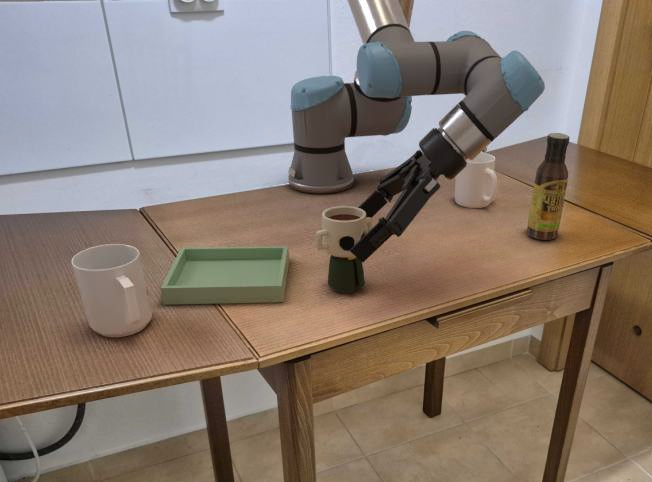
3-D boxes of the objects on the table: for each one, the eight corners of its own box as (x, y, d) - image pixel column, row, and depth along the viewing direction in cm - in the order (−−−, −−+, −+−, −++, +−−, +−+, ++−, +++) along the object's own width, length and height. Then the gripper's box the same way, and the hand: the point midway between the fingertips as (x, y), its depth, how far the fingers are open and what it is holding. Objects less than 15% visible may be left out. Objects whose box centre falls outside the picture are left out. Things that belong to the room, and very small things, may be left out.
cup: (476, 193, 150) (480, 150, 144) (508, 210, 141) (514, 164, 136) (447, 199, 146) (449, 154, 141) (478, 216, 137) (482, 169, 132)
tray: (183, 262, 114) (181, 247, 113) (289, 261, 116) (288, 245, 115) (163, 304, 101) (160, 288, 100) (283, 302, 103) (281, 285, 101)
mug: (81, 322, 96) (62, 254, 90) (140, 304, 101) (125, 238, 95) (111, 356, 89) (92, 284, 83) (173, 335, 94) (159, 266, 88)
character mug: (331, 304, 103) (328, 228, 96) (307, 288, 107) (302, 214, 101) (384, 285, 109) (385, 212, 102) (359, 270, 114) (358, 200, 107)
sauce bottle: (537, 243, 126) (552, 141, 115) (520, 232, 131) (533, 132, 120) (564, 239, 128) (581, 137, 118) (546, 228, 133) (561, 129, 122)
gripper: (484, 188, 88) (375, 288, 95) (456, 140, 109) (368, 224, 116) (448, 149, 85) (338, 255, 91) (426, 107, 106) (338, 196, 112)
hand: (355, 238), depth 103 cm, fingers open, 13 cm apart
